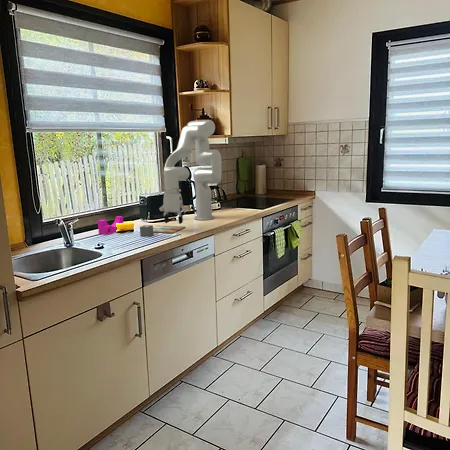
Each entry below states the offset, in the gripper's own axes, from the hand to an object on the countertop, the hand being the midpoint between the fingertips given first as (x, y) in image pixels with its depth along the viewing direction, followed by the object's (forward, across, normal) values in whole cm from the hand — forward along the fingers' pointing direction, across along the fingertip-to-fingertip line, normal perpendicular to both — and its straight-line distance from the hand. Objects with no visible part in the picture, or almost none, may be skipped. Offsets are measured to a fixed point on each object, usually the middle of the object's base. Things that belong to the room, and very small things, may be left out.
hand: (173, 222), depth 232 cm
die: (+4, +9, +14) cm, 17 cm away
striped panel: (+4, +6, 0) cm, 8 cm away
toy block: (+5, +34, +9) cm, 35 cm away
